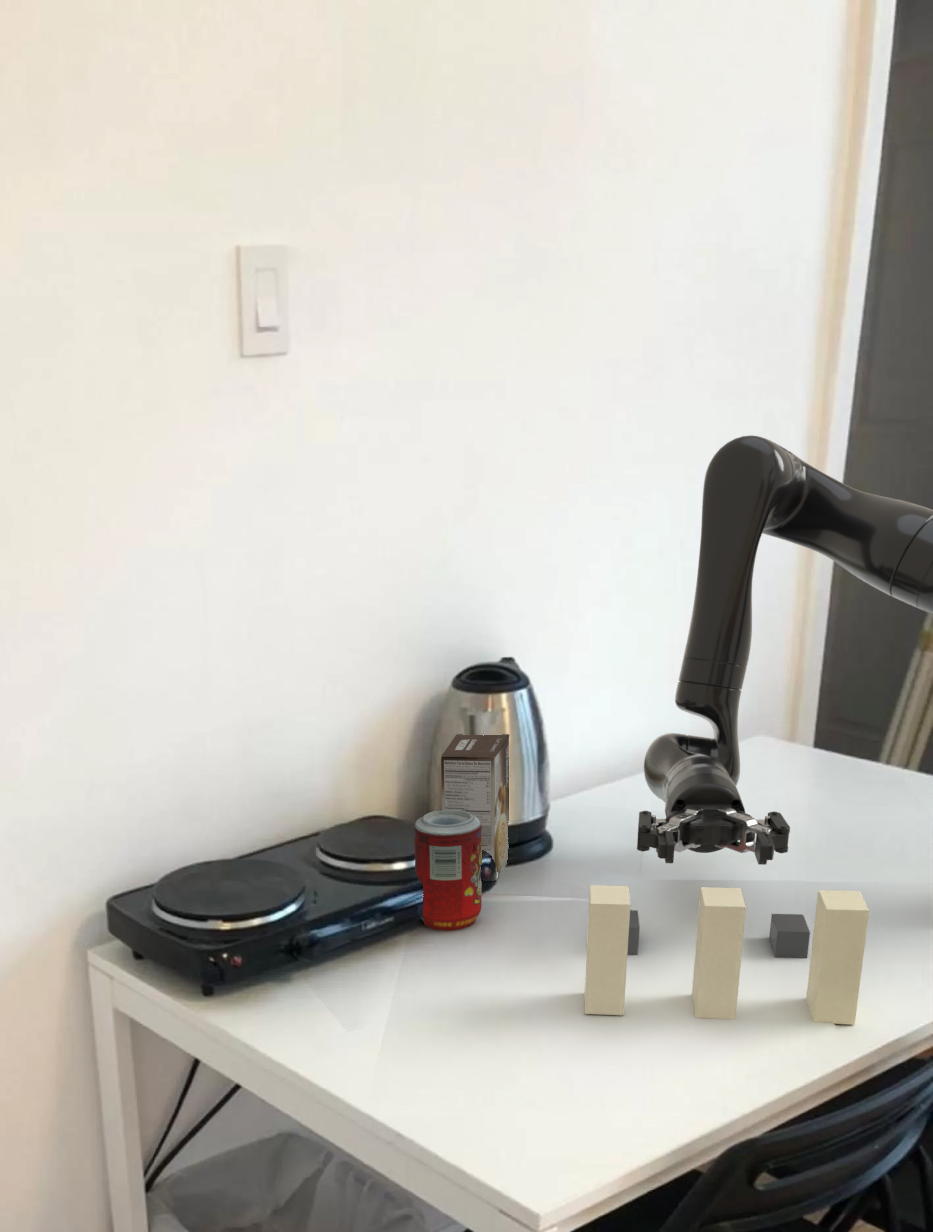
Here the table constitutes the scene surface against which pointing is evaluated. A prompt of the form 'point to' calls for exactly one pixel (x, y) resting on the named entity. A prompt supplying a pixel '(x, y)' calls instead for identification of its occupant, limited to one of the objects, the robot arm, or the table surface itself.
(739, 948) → the tall beige block
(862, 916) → the beige tall block
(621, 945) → the cream rectangular block
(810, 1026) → the table surface
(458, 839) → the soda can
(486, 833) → the coffee box
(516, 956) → the table surface
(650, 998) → the table surface
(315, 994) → the table surface
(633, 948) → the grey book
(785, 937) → the charcoal foam cube
